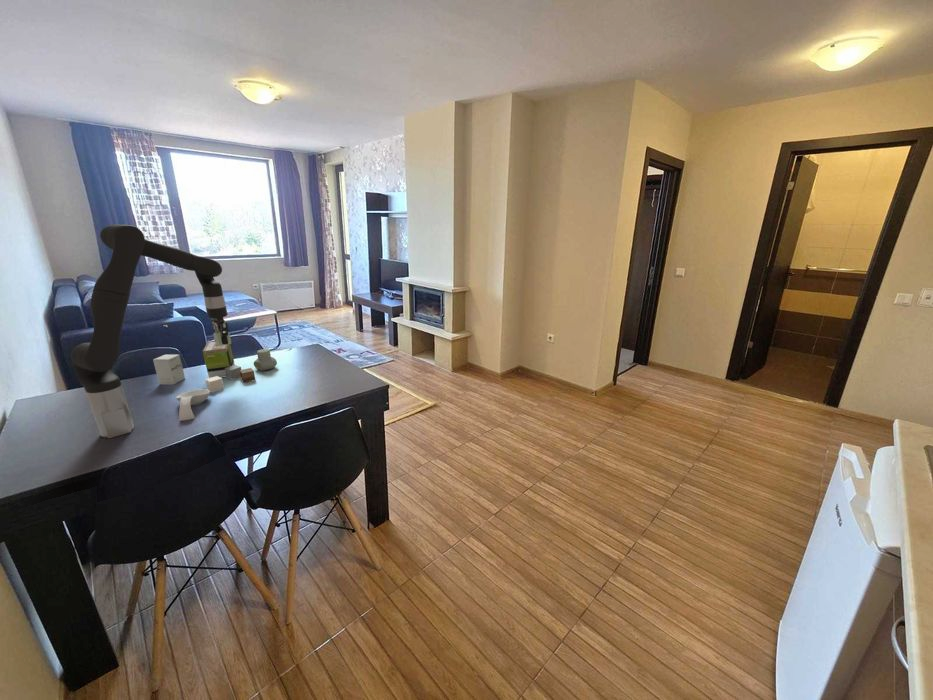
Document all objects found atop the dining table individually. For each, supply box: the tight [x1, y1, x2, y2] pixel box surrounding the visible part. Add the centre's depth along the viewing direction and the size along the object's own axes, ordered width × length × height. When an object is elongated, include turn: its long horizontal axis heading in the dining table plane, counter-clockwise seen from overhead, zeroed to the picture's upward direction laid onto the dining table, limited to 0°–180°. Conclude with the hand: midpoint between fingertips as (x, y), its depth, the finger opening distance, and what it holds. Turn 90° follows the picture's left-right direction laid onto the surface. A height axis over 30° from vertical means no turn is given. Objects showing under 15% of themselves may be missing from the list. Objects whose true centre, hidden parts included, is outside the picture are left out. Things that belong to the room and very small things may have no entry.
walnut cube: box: [239, 367, 256, 384], centre depth 182 cm, size 5×5×5 cm
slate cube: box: [225, 364, 242, 380], centre depth 186 cm, size 5×5×5 cm
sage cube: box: [212, 331, 232, 346], centre depth 171 cm, size 5×5×5 cm
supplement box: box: [152, 354, 186, 386], centre depth 178 cm, size 7×7×13 cm
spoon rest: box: [175, 388, 211, 422], centre depth 154 cm, size 24×12×7 cm, turn 27°
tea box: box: [202, 341, 236, 378], centre depth 189 cm, size 15×10×15 cm
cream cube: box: [204, 376, 224, 393], centre depth 172 cm, size 5×5×5 cm
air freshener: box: [253, 348, 278, 371], centre depth 195 cm, size 11×8×10 cm
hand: (223, 342), depth 172 cm, fingers closed on sage cube, 5 cm apart
